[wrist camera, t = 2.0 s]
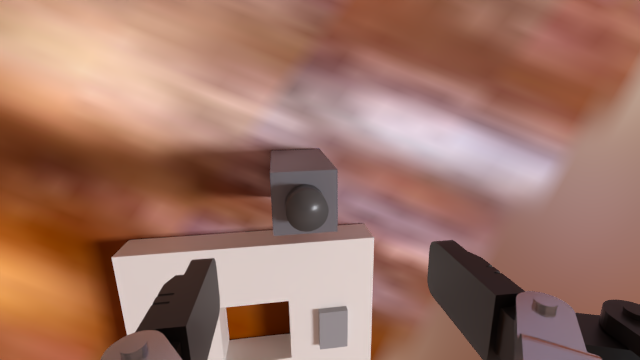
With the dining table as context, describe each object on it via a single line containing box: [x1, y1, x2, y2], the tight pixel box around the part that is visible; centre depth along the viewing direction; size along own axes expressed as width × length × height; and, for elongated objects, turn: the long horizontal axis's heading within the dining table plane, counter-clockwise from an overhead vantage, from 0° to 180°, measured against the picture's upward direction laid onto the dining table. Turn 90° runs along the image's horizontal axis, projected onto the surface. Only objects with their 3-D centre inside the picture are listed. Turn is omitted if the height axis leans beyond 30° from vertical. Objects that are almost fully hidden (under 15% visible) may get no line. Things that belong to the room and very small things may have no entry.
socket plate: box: [111, 224, 374, 360], centre depth 28 cm, size 20×16×4 cm
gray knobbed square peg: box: [270, 149, 338, 236], centre depth 22 cm, size 4×4×10 cm
